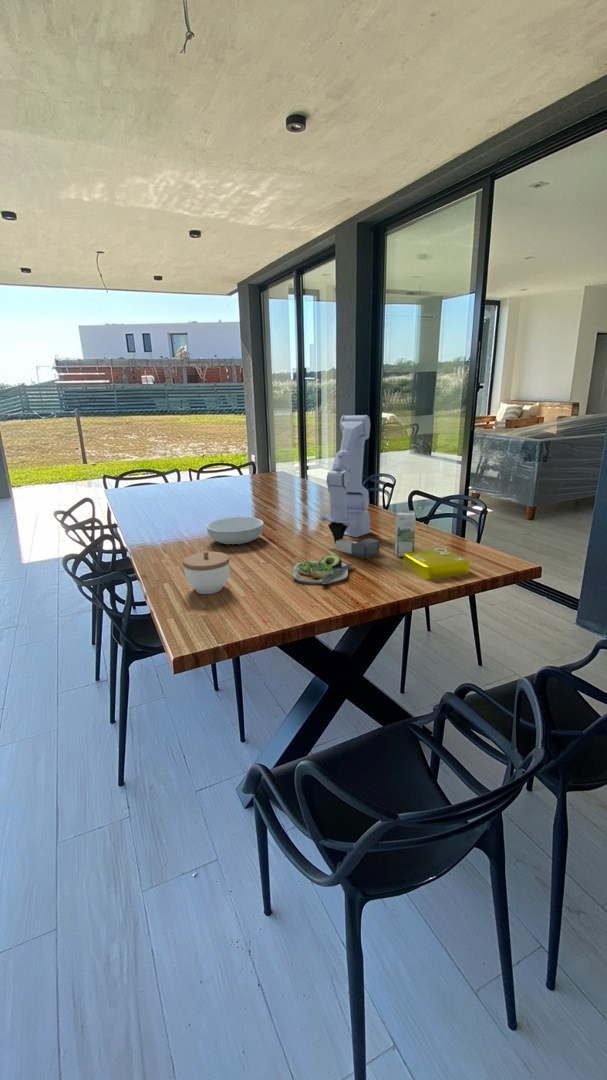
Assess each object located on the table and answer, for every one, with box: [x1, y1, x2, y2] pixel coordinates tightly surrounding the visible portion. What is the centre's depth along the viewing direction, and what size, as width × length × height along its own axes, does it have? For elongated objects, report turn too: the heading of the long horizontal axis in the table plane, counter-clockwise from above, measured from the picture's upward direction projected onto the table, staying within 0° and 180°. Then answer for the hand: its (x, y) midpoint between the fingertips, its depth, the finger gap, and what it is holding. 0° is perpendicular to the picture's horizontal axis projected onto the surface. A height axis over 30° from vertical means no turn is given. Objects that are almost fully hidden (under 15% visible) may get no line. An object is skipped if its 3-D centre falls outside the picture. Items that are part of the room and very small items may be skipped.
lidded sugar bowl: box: [182, 550, 230, 595], centre depth 136 cm, size 13×13×11 cm
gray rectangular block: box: [335, 538, 357, 555], centre depth 166 cm, size 4×12×4 cm, turn 43°
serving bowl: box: [206, 516, 264, 546], centre depth 182 cm, size 21×21×7 cm
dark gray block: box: [350, 537, 380, 560], centre depth 163 cm, size 7×6×5 cm
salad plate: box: [292, 554, 353, 585], centre depth 145 cm, size 19×18×5 cm
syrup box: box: [394, 510, 417, 558], centre depth 160 cm, size 6×6×14 cm
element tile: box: [403, 547, 470, 581], centre depth 148 cm, size 15×15×5 cm
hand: (338, 543), depth 172 cm, fingers closed
